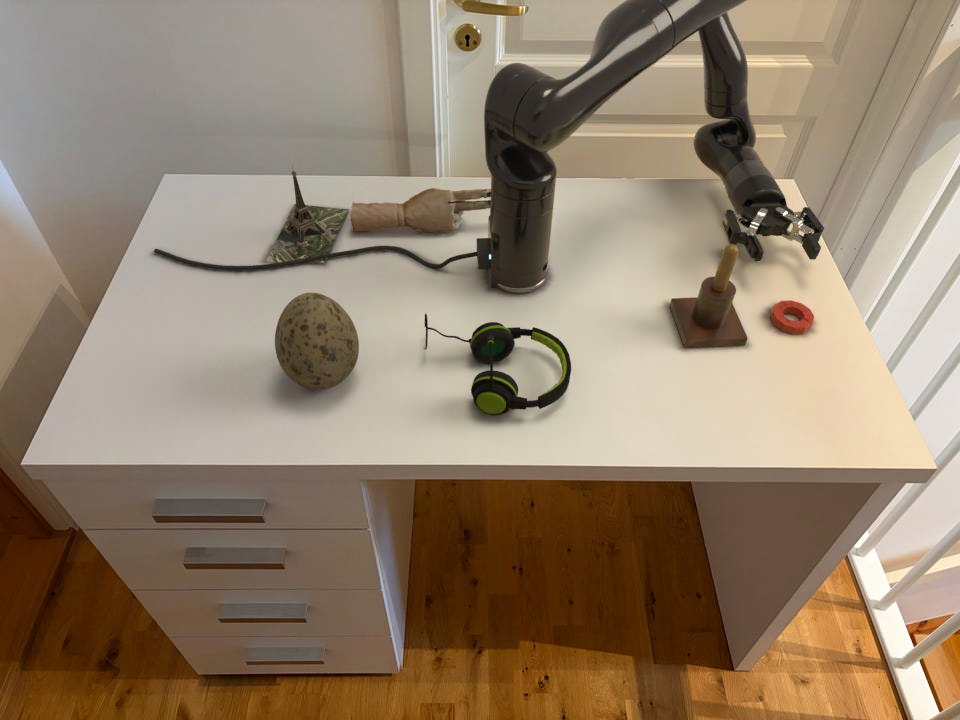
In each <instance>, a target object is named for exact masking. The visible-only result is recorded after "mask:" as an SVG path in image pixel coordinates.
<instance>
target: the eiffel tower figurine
mask: <svg viewBox="0 0 960 720" xmlns="http://www.w3.org/2000/svg"><path fill="white" fill-rule="evenodd" d="M293 166H294V165H291V168H292V171H291V176H292V180H293V189H294V195H295V197H294V198H295V203H294V204H293V206H292V208H291V210H290V213H289V214H288V217H287V218H286V220H285V222H284V224H283V226H282V227H281V230H280V232H279V234H278V235H277V238H276V239H275V242H274V244H273V246H272V248H271V250H270V251H269V252H270V253H269V254H268V256H267V258H266V260H265V262H266V263H279V262H286V261H293V260H299V259H305V258H310V257H316V256H320V255H325V254H331V252H332V249H333V247H334V245H335V242H336V239H337V237H338V234H339V232H340V231H341V228H342V225H343V223H344V222H345V219H346V217H347V215H348V213H349V211H350V209H349V208H339V207H329V206H317V205H310V204H309V205H308V204H306V203H305V201H304V198H303V196H302V192H301V189H300V188H301V187H300V185H299V182H298V178H297V175H298V174H297V172H296V171H295V170H294V167H293ZM327 258H328V257H326V258H322V259H318V260H314V261H310V262H309V263H320V264H321V263H322V264H326V263H327V260H328V259H329V258H328V259H327Z"/></svg>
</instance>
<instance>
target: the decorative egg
mask: <svg viewBox="0 0 960 720" xmlns="http://www.w3.org/2000/svg"><path fill="white" fill-rule="evenodd" d="M274 333H275V334H274V349H275V355H276V359H277V361H278V363H279V366H280V368H281V370H282V371H283V373H284V374H285V375H286V376H287V377H288V378H289V379H290V380H291V381H292V382H294V384H296V385H299V386H301V387H303V388H306V389H309V390H317V391H318V390H319V391H320V390H321V391H322V390H328V389H331V388H334V387H336V386H338V385H340V384H341V383H342V382H344V381H345V380H346V379H347V378H348V377H349V376H350V375H351V373H352V372H353V371H354V369H355V367H356V365H357V361H358V359H359V353H360V342H359V341H360V340H359V335H358V331H357V327H356V326H355V324H354V322H353V320H352V318H351V317H350V315H349V314H348V312H347V311H346V310H345V308H343V306H342V305H340V304H339V303H338V302H337V301H336V300H334V299H332V298H330V297H329V296H327V295H325V294H322V293H319V292H304V293H301V294H299V295H297V296H295V297H294V298H293V299H291V300H290V301H289V302H288V303H287V304H286V306H285V307H284V309H283V310H282V312H281V314H280V315H279V318H278V320H277V324H276V327H275V332H274Z"/></svg>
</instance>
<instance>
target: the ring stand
mask: <svg viewBox="0 0 960 720" xmlns="http://www.w3.org/2000/svg"><path fill="white" fill-rule="evenodd" d="M739 253H740V249H739V246H738V245H734V244H730V243H729V244H727V245H725V246H724V248H723V250H722V253H721V256H720V260H719V262H718V265H717V268H716V271H715V275H714V276H708V277H706V278H705V279H703V280H702V281H701V285H700V288H699V291H698V295H697V297H675V298H671V299H670V302H669V308H670V311H671V313H672V317H673V319H674V323H675V325H676V327H677V331H678V334H679V336H680V339H681V342H682V345H683V347H684V348H685V349H689V348H690V349H691V348H713V347H734V346H737V347H738V346H746V344H747V341H748V339H749V338H748V335H747V333H746V330H745V328H744V326H743V323H742V322H741V319H740V317H739V315H738V312H737V310H736V308H735V306H734V304H733V301H734V299H735V296H736V294H737V288H736V285H735V284H734V283H733V282H732V281H730V280H731V276H732V273H733V270H734V268H735V265H736V262H737V259H738V256H739Z"/></svg>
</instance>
